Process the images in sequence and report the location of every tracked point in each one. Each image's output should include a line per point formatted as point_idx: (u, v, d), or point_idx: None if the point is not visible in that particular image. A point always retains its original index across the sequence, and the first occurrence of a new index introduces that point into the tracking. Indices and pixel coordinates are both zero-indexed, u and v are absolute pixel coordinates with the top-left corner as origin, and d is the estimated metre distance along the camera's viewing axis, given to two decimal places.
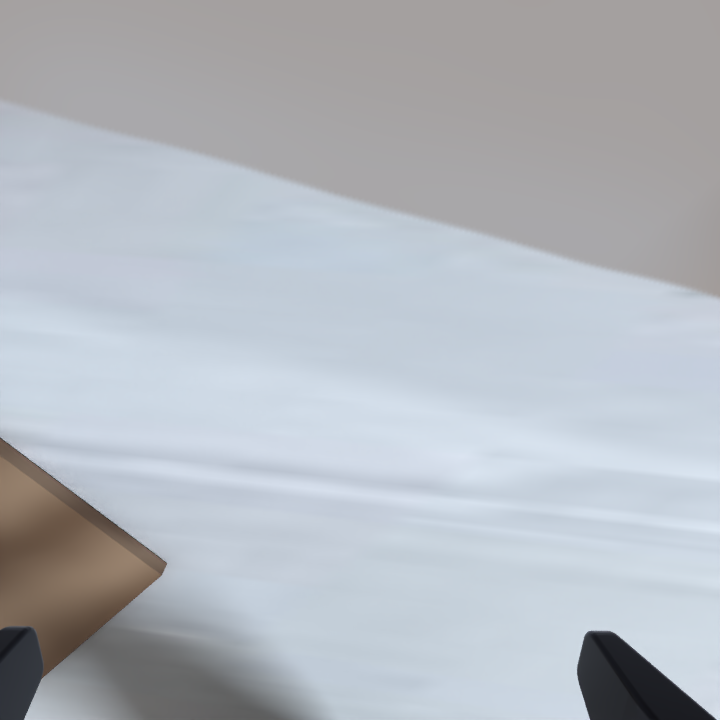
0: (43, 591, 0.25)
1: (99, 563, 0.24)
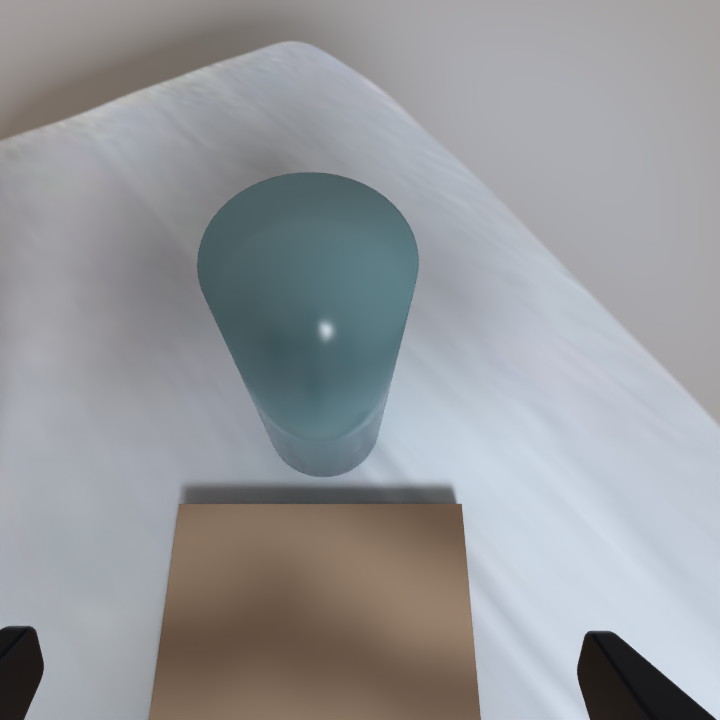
0: None
1: None
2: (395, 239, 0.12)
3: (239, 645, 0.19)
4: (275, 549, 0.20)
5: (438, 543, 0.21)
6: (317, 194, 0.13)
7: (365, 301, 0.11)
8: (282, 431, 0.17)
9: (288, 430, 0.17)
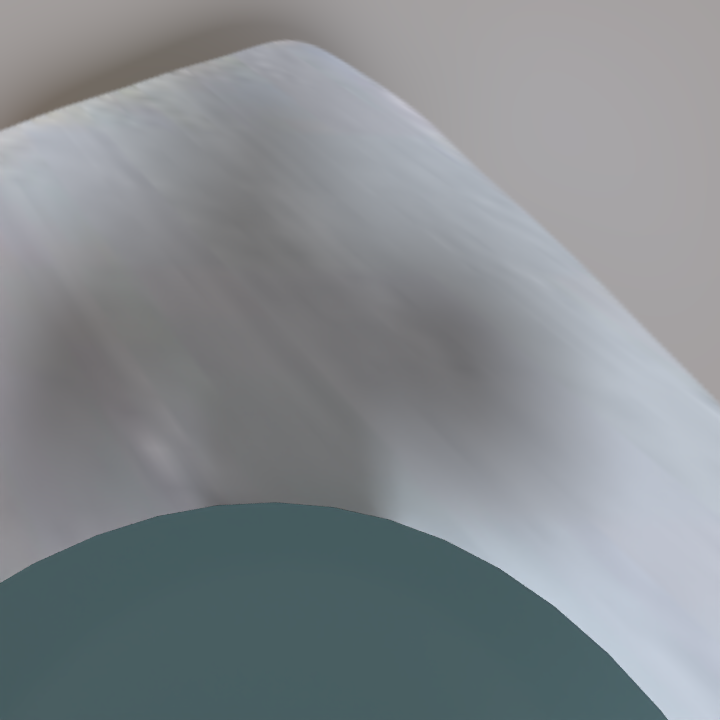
0: None
1: None
2: None
3: None
4: None
5: None
6: (290, 643, 0.03)
7: None
8: None
9: None
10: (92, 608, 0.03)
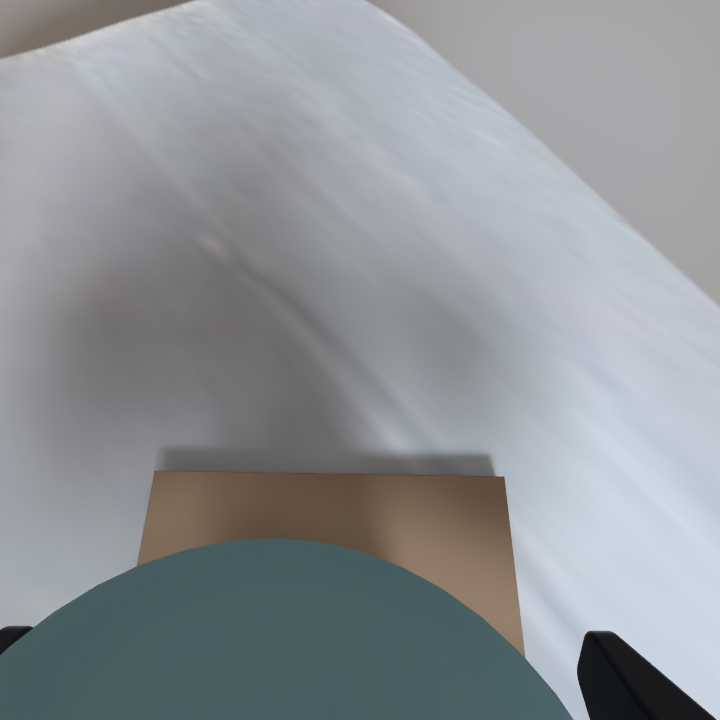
0: None
1: None
2: None
3: None
4: (272, 528, 0.16)
5: (476, 524, 0.17)
6: (285, 643, 0.04)
7: None
8: None
9: None
10: (142, 618, 0.04)
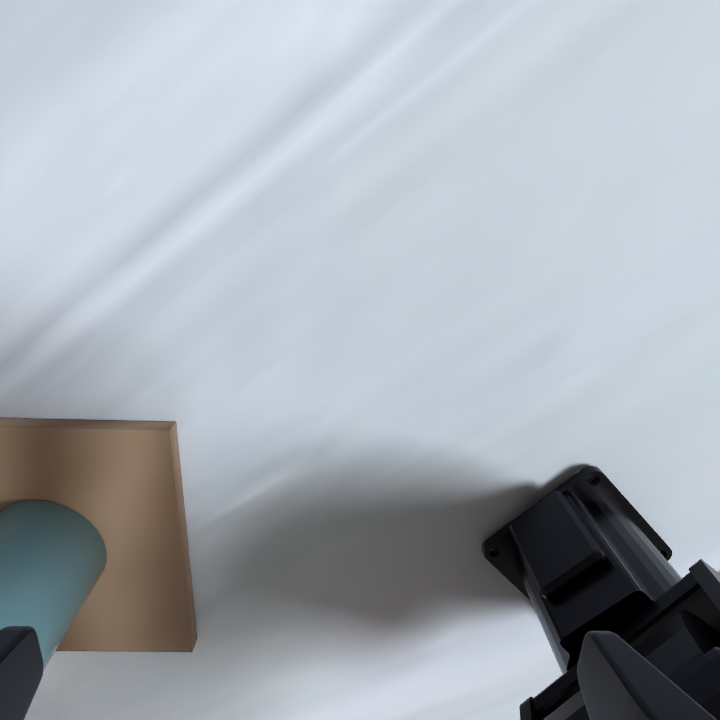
0: (101, 530, 0.22)
1: (112, 464, 0.21)
2: None
3: None
4: None
5: None
6: None
7: None
8: None
9: None
10: None
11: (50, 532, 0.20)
